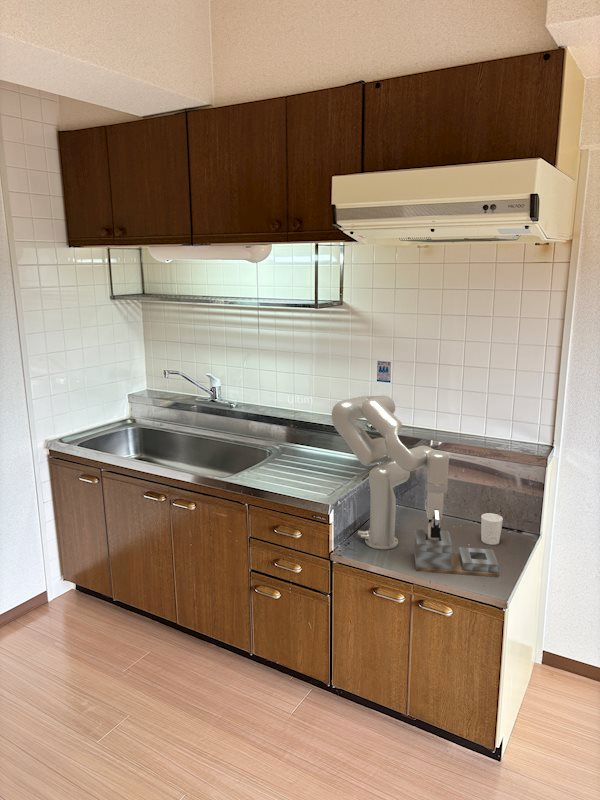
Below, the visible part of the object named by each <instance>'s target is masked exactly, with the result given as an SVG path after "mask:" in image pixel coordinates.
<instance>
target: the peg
mask: <svg viewBox="0 0 600 800" xmlns="http://www.w3.org/2000/svg"><path fill="white" fill-rule="evenodd" d="M431 526H432V522H429V521H428V524H427V530H428V538H427V540H435V541H439V538H431Z"/></svg>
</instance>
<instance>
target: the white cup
mask: <svg viewBox="0 0 600 800" xmlns="http://www.w3.org/2000/svg"><path fill="white" fill-rule="evenodd" d="M480 517H481V523H480V531H481V532H480V535H481V536H480V538H481V542H482V543H483V544H487V545H492V546H495V545H498V544H500V540H501V535H502V534H501V533H502V528H503V522H504V521H503V516H501V514H496V513H491V512H489V513H483V514H481V516H480Z"/></svg>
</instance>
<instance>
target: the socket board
mask: <svg viewBox="0 0 600 800" xmlns="http://www.w3.org/2000/svg"><path fill="white" fill-rule="evenodd" d="M427 538H428V529H418V528H416V529H415V530H414V546H413V547H414V549H413V555H414V567H415V572H422V571H423V572H424V573H436V574H438V573H439V574H451V575H452V574H453V575H464V576H465V575H467V576H477V577H479V576H480V577H491V578H492V577H494V578H498V577H499V562H498V560H497V557H496V555H495V552H494V549H491V548H476V547H475V548H474V547H462V546H461V547H460V546H459V547H458V553H455V552H454V553H453V543H452V539H451V534H450V531H448V530H440V538H439V541H435V540H427ZM423 572H422V573H423Z"/></svg>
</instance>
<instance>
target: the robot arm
mask: <svg viewBox="0 0 600 800" xmlns="http://www.w3.org/2000/svg"><path fill="white" fill-rule="evenodd" d="M395 412H396V404H395V401H394V400H393V399H392V398H391V397H390V396H387V395H362V396H357V397H352V398H348V399H344V400H341V401H338V402H337V403H336V404H335V405H333V407H332V411H331V422H332V424H333V427H334V428H335V430H336V431H337V433H338V434H339V436H341V437H342V439H343V440H344V441H345V443H347V445H348V447H349V448H350V450H351V451H352V452H353V454H354V455H355V458H357V460H358V461H359V462H360V463H361V465H363V466H365V467H371V466H374V465H375V466H374V467H373V468H372V469H371V470H370V472H369V473H368V474H369V475H368V483H369V489H370V490H369V491H370V511H369V528H368V530H357V536H360V538H362V539H364V541H365V542H364V543H365V544H366V545H367V546H368V547H370V548H372V549H375V550H376V549H377V550H391V549H395V548H396V547H398V544H399V540H398V538H397V537H396V536H395V533H396V531H395V529H396V527H395V526H396V503H397V500H396V499H397V498H396V495H395V492H394V489H393V488H395V487H397V486H399V485H401V484H404V483H405V482H407V481H408V480H409V478H410V476H411V475H410V474H411V472H414V471H416V470H420V469H422V468H425V470H426V471H425V486H424V488H425V491H426V492H427V494H426V495H427V496H426V509H425V513H426V517H427V519H428V523H429V522H432V526H431V538H440V531H441V521H442V519H443V511H444V495H445V493H447V492H448V482H449V481H448V480H449V479H448V478H449V464H450V457H449V454H448V453H447V452H446V451H443V450H437V449H434V448H432V447H430V446H428V445H419V446H416V447H413V448H409V449H408V448H407V446H405V445H404V443H402V441H401V439H400V437H399V433H400V431H401V430H402V426H403V424H402V422H401V420H399V419H398V418H397V416H395V415H394V413H395ZM360 419H365V420H366V421H367V422H369V424H370V425H371V426H372V427H373V428H374V429H375V430H376V431H377V432H378V433H379V434H380V435H381V436H382V437H375V438H371V437H370V436H369V434H368V433H367V431H366V430H365V429H364V428H363V427H362V426H361V425H359V424H357V423H356V422H355V421H356V420H360Z"/></svg>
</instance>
